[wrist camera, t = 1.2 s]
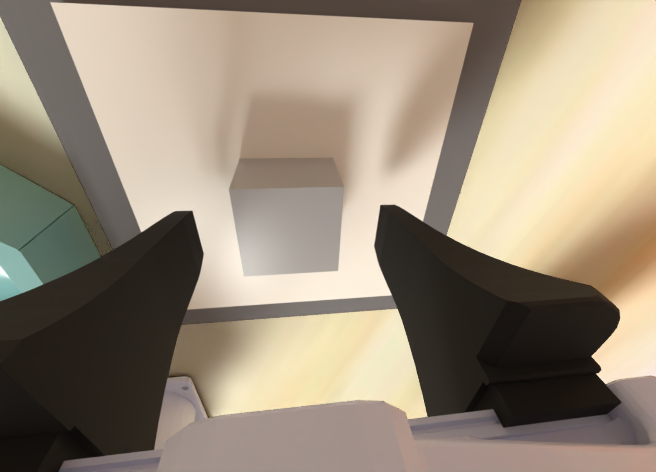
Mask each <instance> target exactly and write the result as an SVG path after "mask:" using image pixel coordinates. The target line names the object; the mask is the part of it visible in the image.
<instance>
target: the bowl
mask: <svg viewBox="0 0 656 472" xmlns="http://www.w3.org/2000/svg"><path fill="white" fill-rule="evenodd" d="M100 257H101V255H100V253H99V251H98V250H97V248H96V246H95V244H94V242H93V240H92V238H91V236H90V234H89V232H88V230H87V228H86V226H85V225H84V223H83V221H82V219H81V217H80V215H79V213H78V211H77V209H76V207H75V206H73V204H71V203H70V202H68V201H66V200H64V199H62V198H60V197H59V196H57V195H55V194H53V193H51V192H49V191H48V190H46V189H44V188H42V187H40V186H39V185H37V184H35V183H33V182H31V181H29V180H28V179H26V178H24V177H22V176H20V175H18V174H17V173H15V172H13V171H11V170H9V169H8V168H6V167H4V166H2V165H0V301H2V300H5V299H8V298H10V297H13V296H16V295H18V294H21V293H24V292H26V291H29V290H31V289H34V288H36V287H38V286H41V285H43V284H45V283H48V282H50V281H52V280H54V279H57V278H59V277H61V276H64V275H66V274H68V273H70V272H73V271H75V270H77V269H79V268H81V267H83V266H85V265H87V264H89V263H91V262H93V261H94V260H96V259H98V258H100Z"/></svg>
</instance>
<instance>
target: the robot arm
mask: <svg viewBox="0 0 656 472" xmlns="http://www.w3.org/2000/svg"><path fill="white" fill-rule="evenodd" d="M374 248H375V252H376V256H377V260H378V263H379V267H380V269H381V271H382V274H383V276H384V278H385V281H386V283H387V285H388V288H389V290H390V292H391V295H392V297H393V299H394V302H395V304H396V306H397V308H398V311H399V313H400V316H401V319H402V322H403V325H404V328H405V331H406V335H407V338H408V341H409V345H410V348H411V352H412V355H413V359H414V363H415V366H416V370H417V374H418V378H419V382H420V386H421V390H422V394H423V398H424V403H425V407H426V412H427V416H428V417H424V418H416V419H407V416H406V413H405V412H404V411H402V410H400V409H399V408H396V407H394V406H392V405H390V404H388V403H386V402H384V401H362V400H356V401H347V402H338V403H329V404H320V405H310V406H301V407H292V408H283V409H274V410H265V411H256V412H247V413H238V414H229V415H220V416H215V417H211V418H208V417H207V415H206V412H205V410H204V407H203V405H202V403H201V400H200V398H199V396H198V393H197V391H196V389H195V386H194V384H193V382H192V379H191V378H189V377H186V376H183V377H172V378H168V374H169V369H170V365H171V361H172V357H173V352H174V348H175V344H176V340H177V337H178V334H179V330H180V327H181V324H182V322H183V319H184V317H185V314H186V311H187V309H188V306H189V303H190V301H191V298H192V295H193V293H194V290H195V287H196V284H197V282H198V279H199V276H200V272H201V267H202V262H203V257H204V252H203V248H202V245H201V241H200V237H199V233H198V230H197V226H196V222H195V218H194V215H193V211H174V212H172V213H170V214H169V215H167V216H165V217H164V218H162V219H161V220H159V221H158V222H156V223H155V224H153V225H152V226H150V227H149V228H147V229H146V230H144V231H143V232H141V233H140V234H138V235H137V236H135V237H134V238H132V239H130V240H129V241H127V242H125V243H124V244H122V245H120V246H119V247H117V248H115V249H114V250H112V251H110V252H109V253H107V254H105V255H104V256H102V257H100V258H98V259H96V260H94V261H93V262H91V263H89V264H87V265H85V266H83V267H81V268H79V269H77V270H75V271H73V272H70V273H68V274H66V275H64V276H61V277H59V278H57V279H54V280H52V281H50V282H48V283H45V284H43V285H41V286H38V287H36V288H34V289H31V290H29V291H26V292H24V293H21V294H18V295H16V296H13V297H10V298H8V299H5V300H2V301H0V472H656V377H655V376H644V377H635V378H626V379H619V380H615V381H612V382H610V383H608V384H605V383H604V382H603V381H602V380H601V379H600V378H599V377H598V376H597V375H596V373H599V372H600V371H601V367H600V366H599V364H598V363H597V362H596V361H595V360H594V359H593V358H592V357H591V356H592V355H593V354H594V353H595V352H596V351H597V350H598V349H599V348H600V346H601V345H602V344H603V343H604V342H605V341H606V340H607V339H608V338H609V337H610V336H611V335H612V333H613V332H614V331H615V329H616V328H617V326H618V323H619V321H620V312H619V309H618V308H617V307H616V306H615V305H614V304H613V303H612V302H611V301H609V300H608V299H607V298H606V297H605V296H603V295H602V294H601V293H600V292H599V291H597V290H596V289H595V288H594V287H592V286H590V285H586V284H582V283H577V282H573V281H569V280H565V279H560V278H556V277H552V276H548V275H544V274H541V273H538V272H534V271H531V270H527V269H524V268H521V267H518V266H515V265H512V264H509V263H506V262H504V261H501V260H498V259H495V258H493V257H490V256H488V255H485V254H483V253H480V252H478V251H476V250H474V249H472V248H470V247H467V246H465V245H463V244H461V243H459V242H457V241H455V240H453V239H452V238H450V237H448V236H446V235H444V234H443V233H441V232H439V231H437V230H436V229H434V228H432V227H431V226H429V225H428V224H426V223H424V222H423V221H421V220H420V219H418V218H417V217H415V216H414V215H412V214H410V213H409V212H407V211H406V210H404V209H402V208H401V207H399V206H397V205H380V211H379V217H378V224H377V230H376V237H375V243H374Z"/></svg>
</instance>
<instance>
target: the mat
mask: <svg viewBox="0 0 656 472" xmlns="http://www.w3.org/2000/svg"><path fill="white" fill-rule="evenodd" d="M50 2H55V3H76V4H96V5H117V6H137V7H158V8H178V9H199V10H219V11H240V12H260V13H281V14H301V15H322V16H342V17H363V18H383V19H404V20H424V21H445V22H465V23H474V24H473V28H472V32H471V35H470V39H469V43H468V47H467V51H466V55H465V59H464V63H463V67H462V71H461V75H460V78H459V82H458V86H457V90H456V94H455V98H454V102H453V106H452V110H451V114H450V118H449V121H448V125H447V129H446V133H445V137H444V141H443V145H442V149H441V153H440V157H439V161H438V164H437V168H436V172H435V176H434V180H433V184H432V188H431V192H430V196H429V200H428V204H427V207H426V211H425V215H424V219H423V222H424V223H426V224H428V225H429V226H431V227H432V228H434V229H436V230H437V231H439V232H441V233H443V234H444V235H447V232H448V228H449V225H450V222H451V219H452V216H453V213H454V210H455V206H456V203H457V200H458V197H459V194H460V191H461V188H462V185H463V181H464V178H465V175H466V172H467V169H468V166H469V163H470V160H471V156H472V153H473V150H474V147H475V144H476V141H477V138H478V134H479V131H480V128H481V125H482V122H483V119H484V116H485V113H486V109H487V106H488V103H489V100H490V97H491V94H492V91H493V87H494V84H495V81H496V78H497V75H498V72H499V69H500V66H501V62H502V59H503V56H504V53H505V50H506V47H507V44H508V41H509V37H510V34H511V31H512V28H513V25H514V22H515V19H516V15H517V12H518V9H519V6H520V3H521V0H0V17H1V19H2V21H3V23H4V25H5V27H6V29H7V31H8V34H9V36H10V38H11V40H12V42H13V44H14V46H15V48H16V50H17V52H18V54H19V56H20V58H21V60H22V62H23V65H24V67H25V69H26V71H27V73H28V75H29V77H30V79H31V81H32V83H33V85H34V87H35V89H36V91H37V94H38V96H39V98H40V100H41V102H42V104H43V106H44V108H45V110H46V112H47V114H48V116H49V118H50V120H51V123H52V125H53V127H54V129H55V131H56V133H57V135H58V137H59V139H60V141H61V143H62V145H63V147H64V149H65V152H66V154H67V156H68V158H69V160H70V162H71V164H72V166H73V168H74V170H75V172H76V174H77V176H78V178H79V181H80V183H81V185H82V187H83V189H84V191H85V193H86V195H87V197H88V199H89V201H90V203H91V205H92V207H93V210H94V212H95V214H96V216H97V218H98V220H99V222H100V224H101V226H102V228H103V230H104V232H105V234H106V236H107V239H108V241H109V243H110V245H111V247H112V249H113V250H114V249H115V248H117V247H119V246H120V245H122V244H124V243H125V242H127V241H129V240H130V239H132V238H134V237H135V236H137V235H138V234H140V233H141V230H140V228H139V225H138V223H137V220H136V218H135V215H134V212H133V210H132V207H131V205H130V202H129V200H128V197H127V195H126V192H125V190H124V187H123V185H122V182H121V180H120V177H119V175H118V172H117V170H116V167H115V165H114V162H113V160H112V157H111V154H110V152H109V149H108V147H107V144H106V142H105V139H104V137H103V134H102V132H101V129H100V127H99V124H98V122H97V119H96V117H95V114H94V112H93V109H92V107H91V104H90V102H89V99H88V96H87V94H86V91H85V89H84V86H83V84H82V81H81V79H80V76H79V74H78V71H77V69H76V66H75V64H74V61H73V59H72V56H71V54H70V51H69V49H68V46H67V44H66V41H65V38H64V36H63V33H62V31H61V28H60V26H59V23H58V21H57V18H56V16H55V13H54V11H53V8H52V6H51V3H50ZM385 309H398V308H397V306H396V304H395V302H394V299H393V297H392V295H390V296H376V297H361V298H347V299H333V300H318V301H304V302H290V303H275V304H261V305H246V306H232V307H218V308H203V309H189V310H187V311H186V314H185V317H184V319H183V322H182V324H181V325H186V324H200V323H213V322H226V321H239V320H253V319H266V318H279V317H292V316H306V315H319V314H332V313H345V312H358V311H372V310H385Z"/></svg>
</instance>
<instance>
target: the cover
mask: <svg viewBox="0 0 656 472" xmlns="http://www.w3.org/2000/svg"><path fill="white" fill-rule="evenodd" d="M50 3H51V6H52V8H53V11H54V13H55V16H56V18H57V21H58V23H59V26H60V28H61V31H62V33H63V36H64V38H65V41H66V44H67V46H68V49H69V51H70V54H71V56H72V59H73V61H74V64H75V66H76V69H77V71H78V74H79V76H80V79H81V81H82V84H83V86H84V89H85V91H86V94H87V96H88V99H89V102H90V104H91V107H92V109H93V112H94V114H95V117H96V119H97V122H98V124H99V127H100V129H101V132H102V134H103V137H104V139H105V142H106V144H107V147H108V149H109V152H110V154H111V157H112V160H113V162H114V165H115V167H116V170H117V172H118V175H119V177H120V180H121V182H122V185H123V187H124V190H125V192H126V195H127V197H128V200H129V202H130V205H131V207H132V210H133V212H134V215H135V218H136V220H137V223H138V225H139V228H140V230H141V232H143V231H144V230H146V229H147V228H149V227H150V226H152V225H153V224H155V223H156V222H158V221H159V220H161V219H162V218H164V217H165V216H167V215H169V214H170V213H172V212H174V211H193V215H194V218H195V222H196V226H197V230H198V233H199V237H200V241H201V245H202V248H203V252H204V257H203V262H202V267H201V272H200V276H199V279H198V282H197V284H196V287H195V290H194V293H193V295H192V298H191V301H190V303H189V306H188V309H187V310H189V309H203V308H218V307H232V306H246V305H261V304H275V303H290V302H304V301H318V300H333V299H347V298H361V297H376V296H390V295H391V292H390V290H389V288H388V285H387V283H386V281H385V278H384V276H383V274H382V271H381V269H380V267H379V263H378V260H377V256H376V252H375V248H374V243H375V237H376V230H377V224H378V217H379V211H380V205H397V206H399V207H401V208H402V209H404V210H406V211H407V212H409V213H410V214H412V215H414V216H415V217H417V218H418V219H420V220H421V221H423V219H424V215H425V211H426V207H427V204H428V200H429V196H430V192H431V188H432V184H433V180H434V176H435V172H436V168H437V164H438V161H439V157H440V153H441V149H442V145H443V141H444V137H445V133H446V129H447V125H448V121H449V118H450V114H451V110H452V106H453V102H454V98H455V94H456V90H457V86H458V82H459V78H460V75H461V71H462V67H463V63H464V59H465V55H466V51H467V47H468V43H469V39H470V35H471V32H472V28H473V24H474V23H465V22H445V21H424V20H404V19H383V18H363V17H342V16H322V15H301V14H281V13H260V12H240V11H219V10H199V9H178V8H158V7H137V6H117V5H96V4H76V3H55V2H50Z"/></svg>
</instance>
